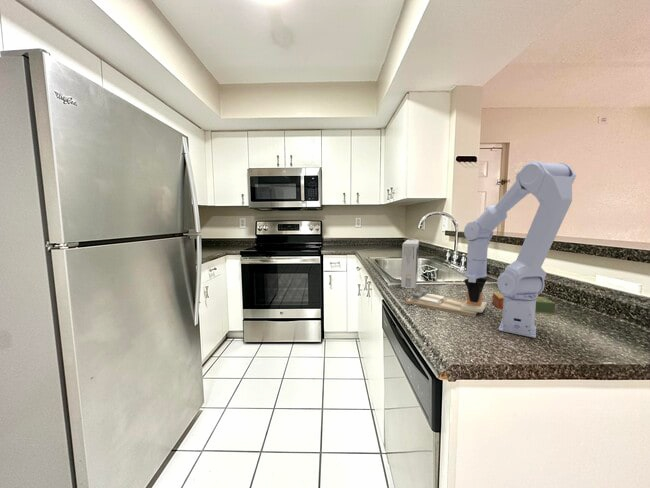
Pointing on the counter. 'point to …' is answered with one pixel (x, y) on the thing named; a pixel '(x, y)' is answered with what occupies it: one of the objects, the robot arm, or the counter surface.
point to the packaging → (409, 263)
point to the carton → (541, 304)
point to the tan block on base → (474, 304)
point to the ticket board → (439, 303)
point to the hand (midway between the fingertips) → (474, 300)
